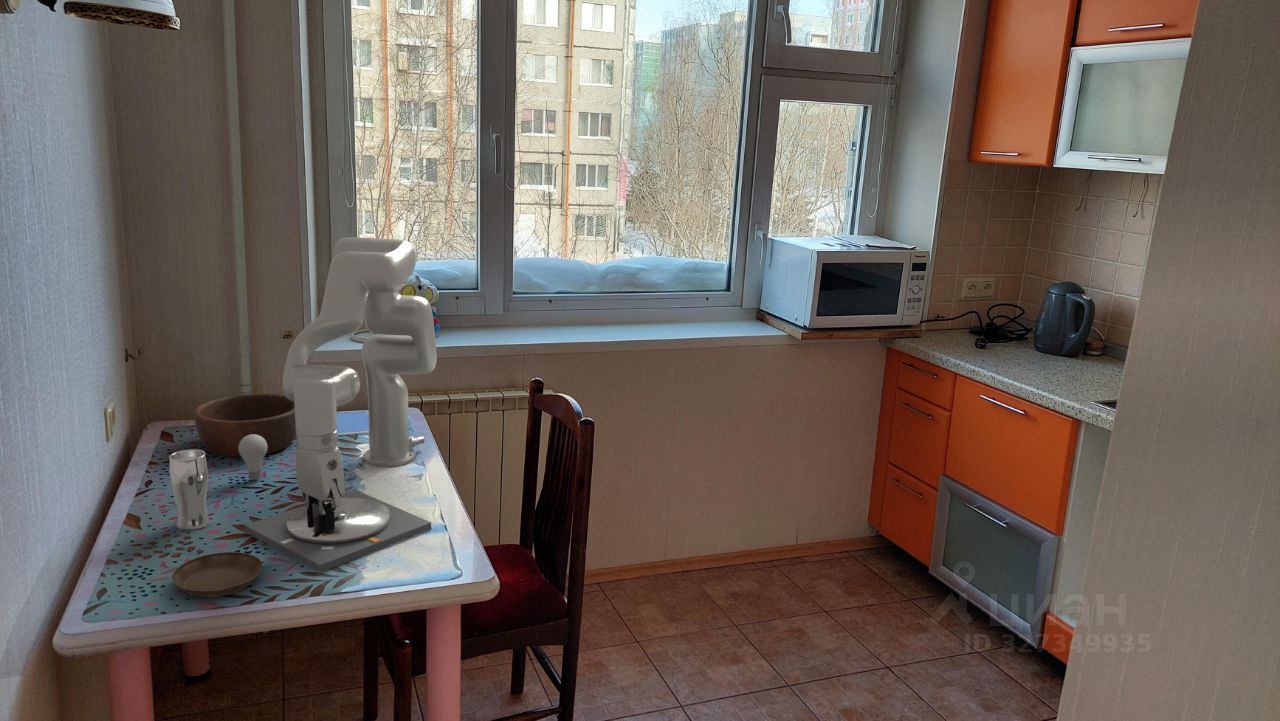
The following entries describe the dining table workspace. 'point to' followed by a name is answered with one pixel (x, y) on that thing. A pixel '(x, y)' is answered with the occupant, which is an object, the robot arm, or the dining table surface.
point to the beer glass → (190, 488)
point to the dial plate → (338, 553)
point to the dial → (341, 521)
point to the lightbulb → (253, 454)
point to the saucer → (217, 573)
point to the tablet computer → (352, 423)
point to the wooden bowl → (245, 422)
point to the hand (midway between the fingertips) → (321, 527)
